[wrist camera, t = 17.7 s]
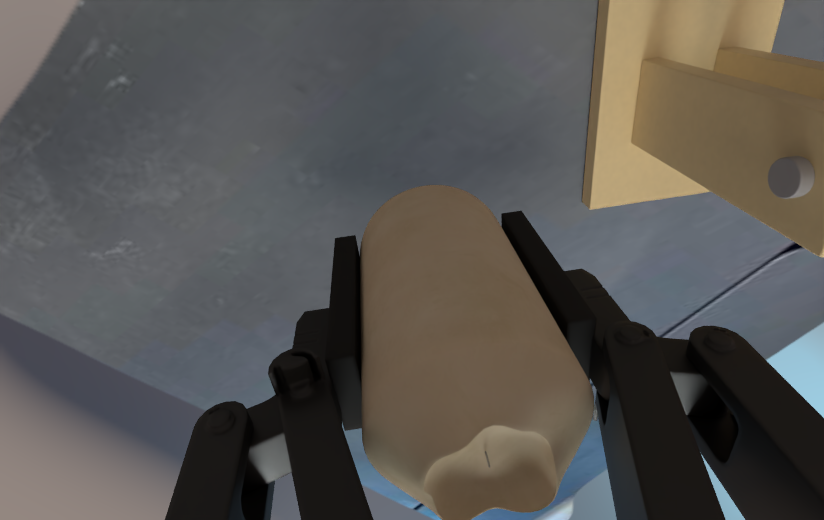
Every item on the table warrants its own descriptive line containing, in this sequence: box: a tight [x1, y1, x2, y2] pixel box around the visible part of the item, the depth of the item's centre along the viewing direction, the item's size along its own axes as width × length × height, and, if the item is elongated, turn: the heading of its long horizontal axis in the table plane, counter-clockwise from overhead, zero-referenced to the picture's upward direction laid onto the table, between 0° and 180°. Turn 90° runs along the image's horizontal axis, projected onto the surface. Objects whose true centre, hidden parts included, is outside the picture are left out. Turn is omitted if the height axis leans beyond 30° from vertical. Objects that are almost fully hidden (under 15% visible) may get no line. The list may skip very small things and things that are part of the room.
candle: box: [360, 185, 594, 520], centre depth 14 cm, size 6×6×10 cm
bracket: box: [582, 0, 824, 257], centre depth 20 cm, size 12×9×14 cm
